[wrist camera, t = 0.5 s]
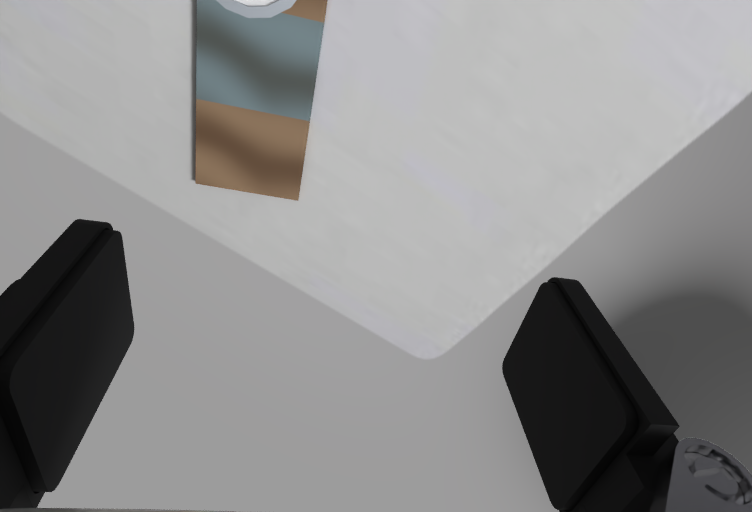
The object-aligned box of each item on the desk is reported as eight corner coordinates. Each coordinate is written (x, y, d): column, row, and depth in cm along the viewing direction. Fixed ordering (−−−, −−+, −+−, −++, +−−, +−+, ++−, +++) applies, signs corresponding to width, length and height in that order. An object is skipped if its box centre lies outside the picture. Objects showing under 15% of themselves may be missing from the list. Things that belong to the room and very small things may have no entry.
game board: (199, -144, 29) (197, -145, 28) (342, -103, 30) (342, -103, 30) (196, 181, 41) (195, 183, 41) (298, 198, 43) (298, 200, 42)
